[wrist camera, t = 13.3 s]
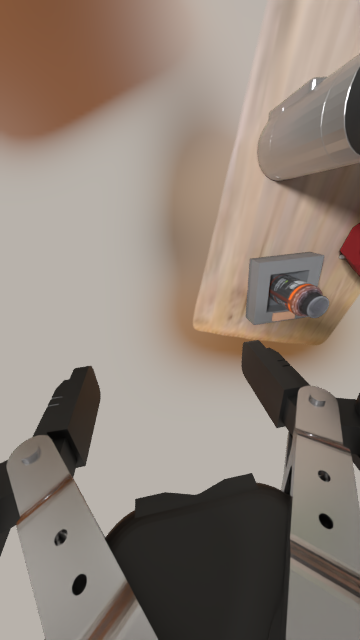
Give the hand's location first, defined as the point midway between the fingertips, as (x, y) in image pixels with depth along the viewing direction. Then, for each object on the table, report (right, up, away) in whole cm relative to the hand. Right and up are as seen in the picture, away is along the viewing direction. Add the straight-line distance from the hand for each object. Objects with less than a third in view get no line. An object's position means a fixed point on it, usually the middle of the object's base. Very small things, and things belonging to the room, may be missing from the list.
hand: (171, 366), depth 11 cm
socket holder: (+21, +10, +35) cm, 42 cm away
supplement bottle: (+22, +10, +34) cm, 42 cm away
